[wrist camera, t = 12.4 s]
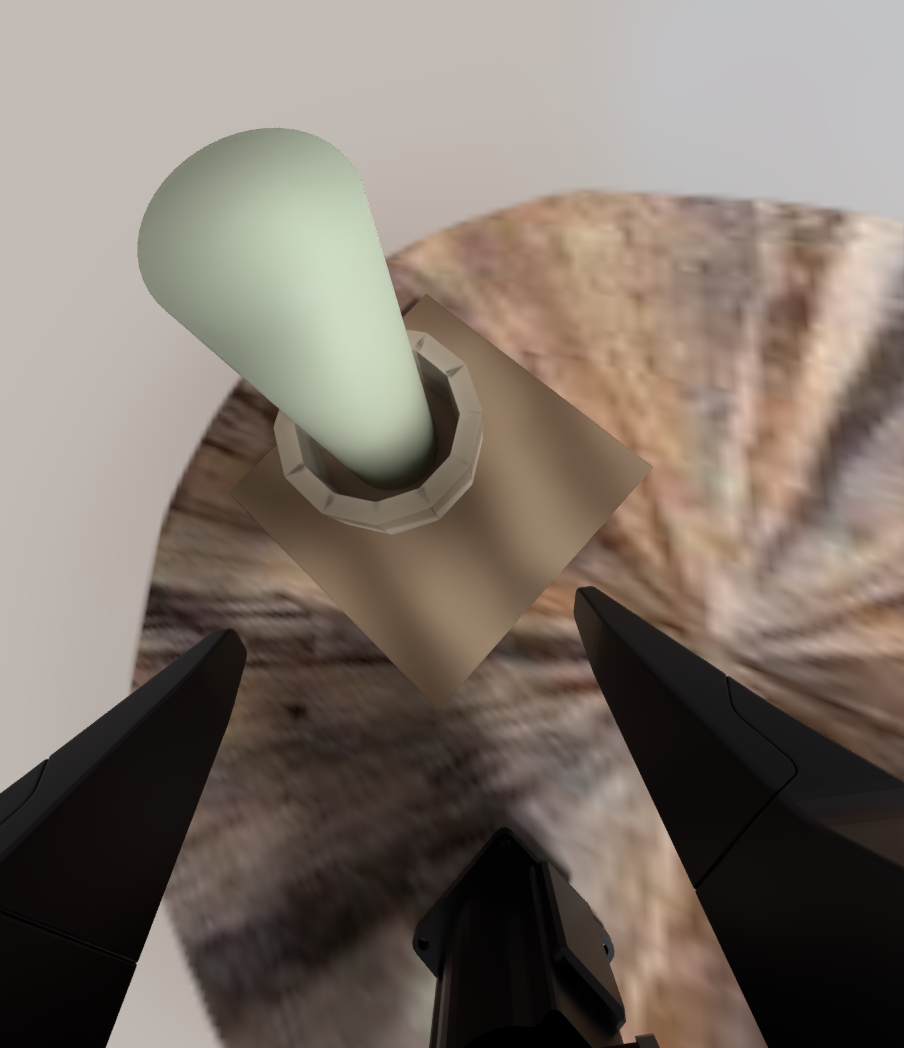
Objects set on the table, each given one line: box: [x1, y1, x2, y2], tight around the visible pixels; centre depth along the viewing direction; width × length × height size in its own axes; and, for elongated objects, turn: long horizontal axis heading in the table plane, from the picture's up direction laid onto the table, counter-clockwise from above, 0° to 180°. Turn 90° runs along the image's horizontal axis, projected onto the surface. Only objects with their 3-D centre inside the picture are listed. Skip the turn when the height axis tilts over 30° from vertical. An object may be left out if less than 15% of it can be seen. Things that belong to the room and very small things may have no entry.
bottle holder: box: [229, 294, 653, 710], centre depth 18 cm, size 16×16×4 cm
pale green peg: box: [138, 128, 438, 490], centre depth 13 cm, size 5×5×12 cm
